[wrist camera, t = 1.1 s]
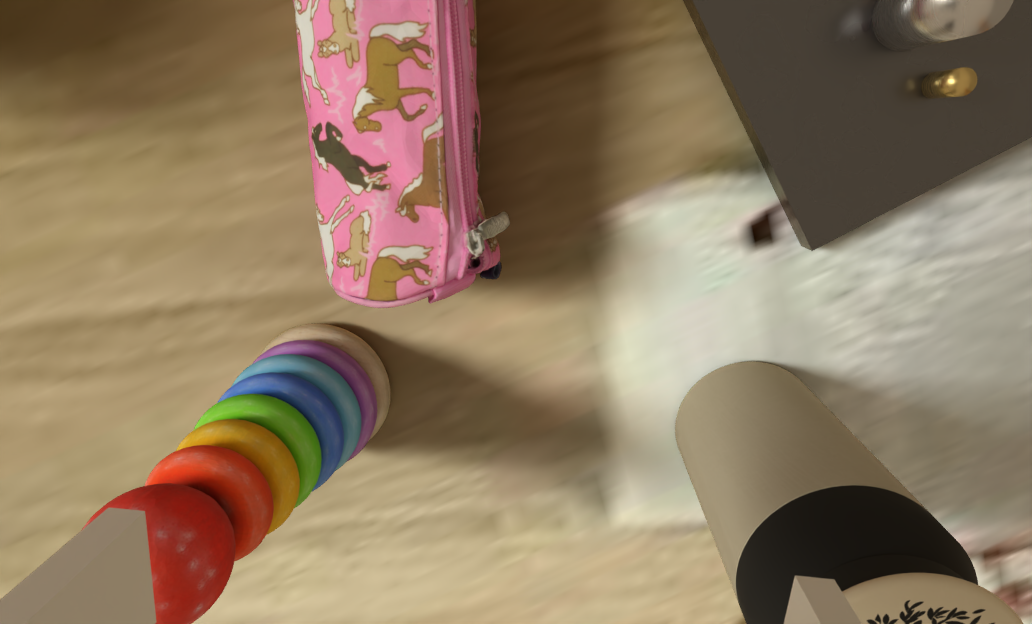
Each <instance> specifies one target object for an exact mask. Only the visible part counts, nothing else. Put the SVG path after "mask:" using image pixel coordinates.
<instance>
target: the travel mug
mask: <svg viewBox="0 0 1032 624" xmlns="http://www.w3.org/2000/svg"><path fill="white" fill-rule="evenodd" d="M675 434H676V441H677V445H678V448H679V451H680V453H681V456H682V458H683V461H684V463H685V466H686V469H687V471H688V474H689V476H690V479H691V481H692V484H693V487H694V489H695V492H696V494H697V497H698V500H699V502H700V505H701V507H702V510H703V512H704V515H705V518H706V520H707V523H708V525H709V528H710V530H711V533H712V536H713V538H714V541H715V543H716V546H717V548H718V551H719V554H720V556H721V559H722V561H723V564H724V567H725V569H726V572H727V574H728V577H729V579H730V582H731V585H732V587H733V590H734V592H735V595H736V597H737V600H738V603H739V605H740V608H741V610H742V613H743V615H744V618H745V621H746V623H747V624H784V620H785V616H786V612H787V607H788V603H789V599H790V594H791V590H792V586H793V581H794V577H795V576H805V577H815V578H825V579H834V580H835V581H836V583H837V585H838V586H839V588H840V589H841V591H842V593H843V594H844V596H845V598H846V599H847V601H848V602H849V604H850V606H851V607H852V609H853V610H854V612H855V614H856V615H857V617H858V618H859V620H860V622H861V623H862V624H1023V622H1022V621H1021V619H1020V618H1019V617H1018V615H1017V614H1016V613H1015V612H1014V611H1013V610H1012V609H1011V608H1010V607H1009V606H1008V605H1007V604H1006V603H1005V602H1004V601H1003V600H1001V599H1000V598H999V597H997V596H996V595H995V594H993V593H991V592H990V591H988V590H986V589H985V588H983V587H980V586H978V581H977V576H976V572H975V569H974V567H973V564H972V562H971V560H970V558H969V556H968V554H967V553H966V551H965V550H964V549H963V547H962V546H961V545H960V544H959V543H958V542H957V541H956V539H955V538H954V537H953V536H952V535H951V534H950V533H949V532H948V531H947V530H946V529H945V528H944V527H943V526H942V525H941V524H940V523H939V522H938V521H937V520H936V519H935V518H934V517H933V516H932V515H931V514H930V513H929V512H928V511H927V510H926V509H925V508H924V507H923V506H922V505H921V504H920V502H919V501H918V500H917V499H916V498H915V497H914V496H913V495H912V494H911V493H910V492H909V491H908V490H907V489H906V488H905V487H904V486H903V485H902V484H901V483H900V482H899V481H898V480H897V479H896V478H895V477H894V476H893V475H892V474H891V473H890V472H889V471H888V470H887V469H886V468H885V467H884V466H883V465H882V464H881V463H880V462H879V460H878V459H877V458H876V457H875V456H874V455H873V454H872V453H871V452H870V451H869V450H868V449H867V448H866V447H865V446H864V445H863V444H862V443H861V442H860V441H859V440H858V439H857V438H856V437H855V436H854V435H853V434H852V433H851V432H850V431H849V430H848V429H847V428H846V427H845V426H844V425H843V424H842V423H841V422H840V421H839V419H838V418H837V417H836V416H835V415H834V414H833V413H832V412H831V411H830V410H829V409H828V408H827V407H826V406H825V405H824V404H823V403H822V402H821V401H820V400H819V399H818V398H817V397H816V396H815V395H814V394H813V393H812V392H811V391H810V390H809V389H808V388H807V387H806V386H805V385H804V384H803V383H802V382H801V381H800V380H799V379H798V378H797V377H796V376H795V375H793V374H792V373H790V372H789V371H787V370H785V369H783V368H781V367H778V366H775V365H772V364H768V363H763V362H739V363H734V364H730V365H727V366H724V367H721V368H719V369H716V370H714V371H713V372H711V373H709V374H707V375H706V376H704V377H703V378H702V379H701V380H699V381H698V382H697V383H696V384H695V385H694V386H693V387H692V388H691V389H690V391H689V392H688V393H687V395H686V396H685V398H684V399H683V401H682V403H681V405H680V408H679V410H678V414H677V418H676V425H675Z"/></svg>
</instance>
